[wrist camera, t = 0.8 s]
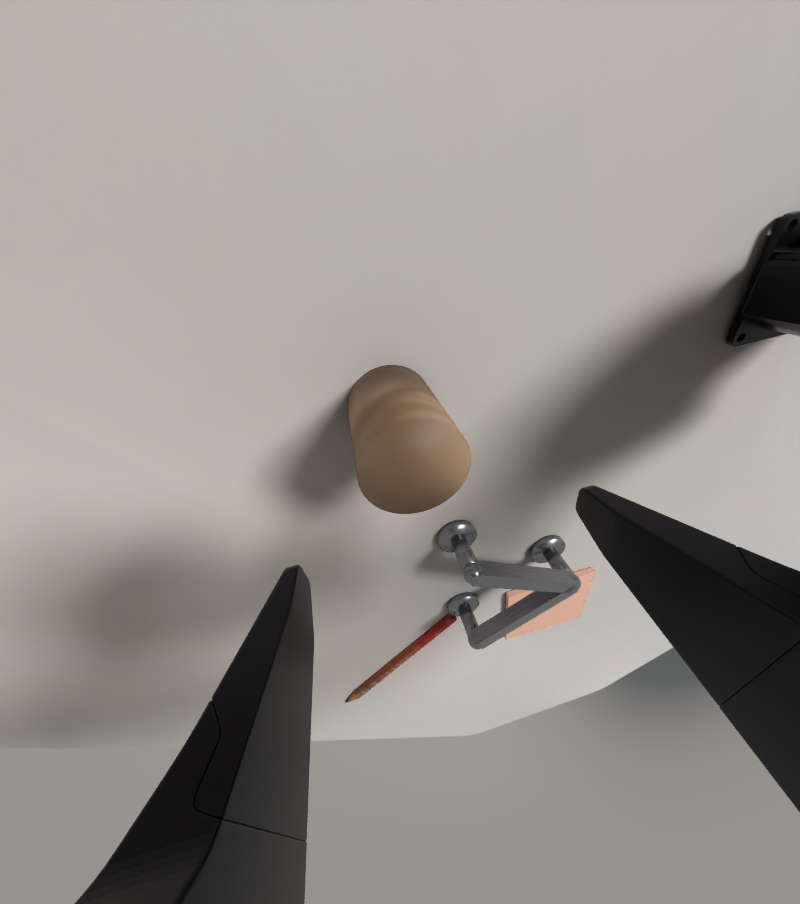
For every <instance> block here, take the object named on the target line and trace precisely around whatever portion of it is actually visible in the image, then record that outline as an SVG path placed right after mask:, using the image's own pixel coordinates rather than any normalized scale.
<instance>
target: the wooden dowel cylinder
mask: <svg viewBox="0 0 800 904" xmlns="http://www.w3.org/2000/svg"><path fill="white" fill-rule="evenodd" d="M348 414H349V421H350V428H351V435H352V442H353V449H354V456H355V463H356V470H357V477H358V482H359V486H360V489H361V491H362V493H363V494H364V496H365V497H366V498H367V500H368V501H369V502H371V503H372V504H373V505H375V506H376V507H378V508H380V509H382V510H385V511H388V512H392V513H399V514H411V513H418V512H422V511H426V510H429V509H431V508H434V507H436V506H438V505H440V504H442V503H443V502H445V501H446V500H448V499H449V498H450V497H451V496H453V495H454V494H455V493H456V492H457V491H458V489H459V488H460V487H461V486H462V484H463V483H464V481H465V479H466V477H467V475H468V472H469V469H470V465H471V452H470V448H469V445H468V443H467V441H466V439H465V438H464V437H463V435H462V434H461V432H460V431H459V429H458V428H457V427H456V425H455V424H454V422H453V421H452V420H451V418H450V417H449V415H448V414H447V412H446V411H445V410H444V408H443V407H442V405H441V404H440V403H439V401H438V400H437V398H436V397H435V396H434V394H433V393H432V391H431V390H430V388H429V387H428V386H427V384H426V383H425V381H424V380H423V379H422V378H421V377H420V376H419V375H418V374H417V373H416V372H414V371H413V370H411V369H409V368H406V367H403V366H398V365H386V366H381V367H378V368H375V369H373V370H371V371H369V372H367V373H366V374H364V375H363V376H362V377H361V378H360V379H359V380H358V381H357V382H356V384H355V385H354V386H353V388H352V390H351V393H350V395H349V399H348Z"/></svg>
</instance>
